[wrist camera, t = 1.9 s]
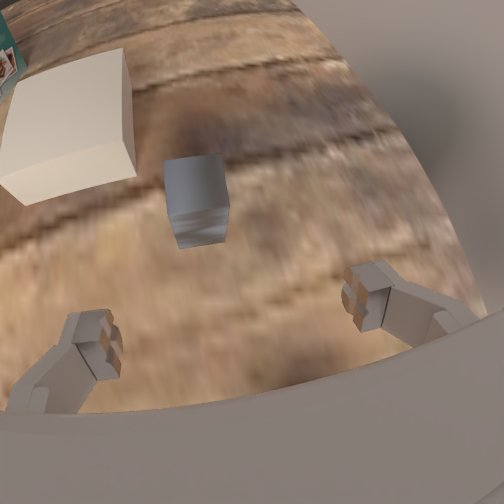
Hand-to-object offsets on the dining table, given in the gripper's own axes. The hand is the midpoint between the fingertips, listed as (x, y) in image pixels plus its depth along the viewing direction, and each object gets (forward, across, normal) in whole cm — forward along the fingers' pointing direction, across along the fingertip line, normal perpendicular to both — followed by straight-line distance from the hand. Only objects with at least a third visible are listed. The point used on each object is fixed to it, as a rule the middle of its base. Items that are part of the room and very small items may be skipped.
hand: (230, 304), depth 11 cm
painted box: (+35, +16, -3) cm, 38 cm away
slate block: (+24, +1, +8) cm, 26 cm away
